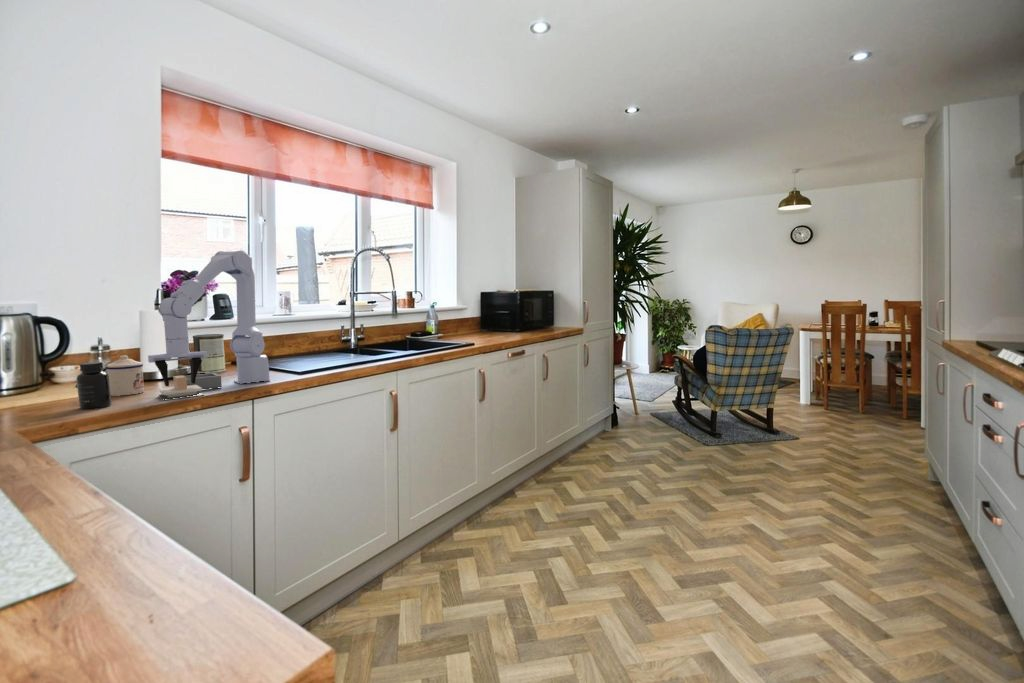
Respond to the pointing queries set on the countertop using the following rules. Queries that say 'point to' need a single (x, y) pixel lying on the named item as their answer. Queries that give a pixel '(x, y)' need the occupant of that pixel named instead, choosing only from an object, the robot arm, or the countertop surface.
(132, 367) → the ceramic lidded jar
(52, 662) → the countertop surface
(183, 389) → the lid
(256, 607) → the countertop surface
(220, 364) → the coffee can
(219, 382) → the box
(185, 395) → the mat
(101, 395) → the supplement bottle
